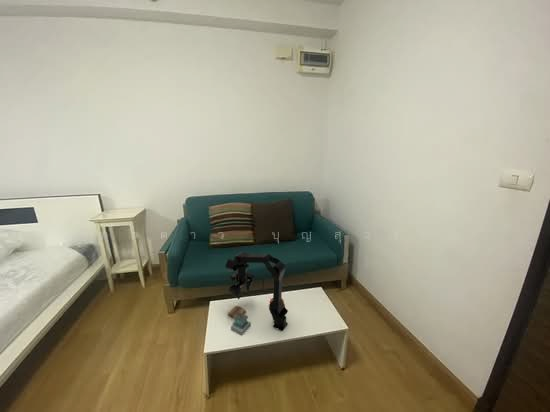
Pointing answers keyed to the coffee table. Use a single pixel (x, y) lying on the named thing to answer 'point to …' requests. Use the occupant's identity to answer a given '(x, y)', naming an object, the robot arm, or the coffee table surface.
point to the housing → (240, 320)
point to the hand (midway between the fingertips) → (243, 294)
